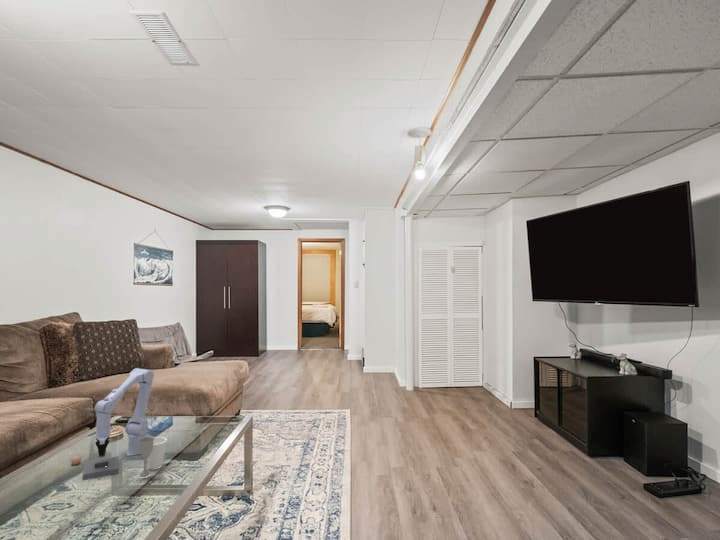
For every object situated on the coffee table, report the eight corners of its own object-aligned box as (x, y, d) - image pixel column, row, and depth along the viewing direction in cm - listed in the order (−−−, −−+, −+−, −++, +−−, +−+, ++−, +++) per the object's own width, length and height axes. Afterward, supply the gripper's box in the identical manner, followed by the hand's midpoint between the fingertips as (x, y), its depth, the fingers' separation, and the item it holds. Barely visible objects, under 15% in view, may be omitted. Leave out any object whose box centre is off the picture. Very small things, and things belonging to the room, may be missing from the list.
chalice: (156, 474, 195) (158, 437, 196) (144, 481, 189) (146, 442, 189) (144, 471, 198) (146, 434, 198) (132, 477, 191) (134, 439, 192)
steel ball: (106, 454, 200) (107, 446, 200) (106, 458, 196) (106, 450, 196) (96, 456, 198) (97, 447, 198) (96, 459, 195) (96, 451, 194)
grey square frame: (118, 461, 207) (118, 456, 207) (117, 473, 195) (118, 468, 195) (84, 466, 200) (85, 461, 200) (82, 479, 188) (82, 474, 188)
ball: (81, 461, 205) (81, 453, 205) (80, 465, 201) (80, 456, 201) (71, 463, 203) (71, 455, 203) (70, 466, 199) (71, 458, 199)
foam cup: (156, 472, 197) (158, 445, 197) (140, 470, 199) (141, 443, 199) (169, 463, 207) (170, 438, 207) (153, 461, 208) (154, 436, 208)
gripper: (94, 421, 202) (93, 449, 201) (92, 432, 189) (91, 461, 189) (111, 419, 205) (109, 446, 205) (110, 429, 193) (109, 458, 193)
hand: (102, 453), depth 197 cm, fingers closed on steel ball, 4 cm apart
